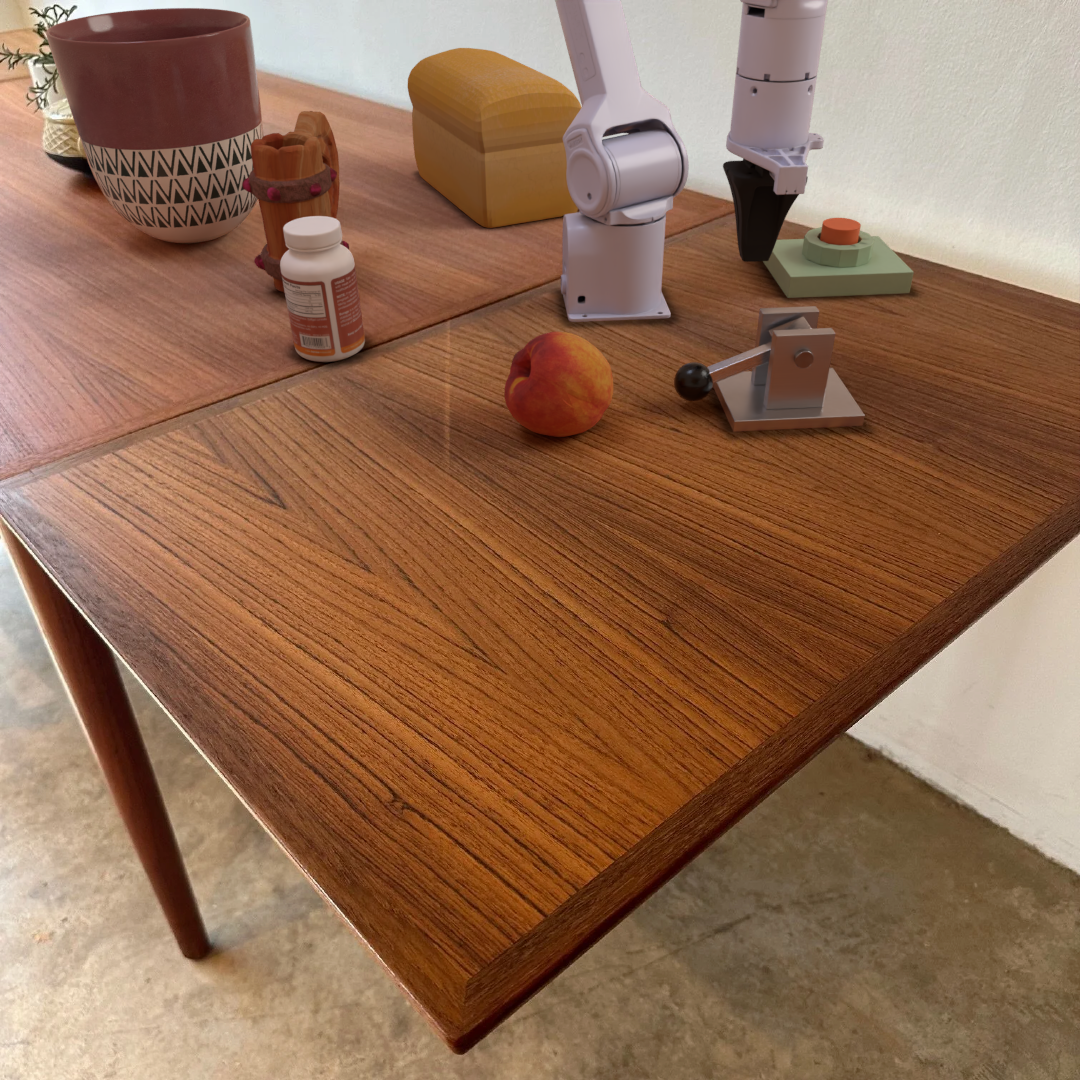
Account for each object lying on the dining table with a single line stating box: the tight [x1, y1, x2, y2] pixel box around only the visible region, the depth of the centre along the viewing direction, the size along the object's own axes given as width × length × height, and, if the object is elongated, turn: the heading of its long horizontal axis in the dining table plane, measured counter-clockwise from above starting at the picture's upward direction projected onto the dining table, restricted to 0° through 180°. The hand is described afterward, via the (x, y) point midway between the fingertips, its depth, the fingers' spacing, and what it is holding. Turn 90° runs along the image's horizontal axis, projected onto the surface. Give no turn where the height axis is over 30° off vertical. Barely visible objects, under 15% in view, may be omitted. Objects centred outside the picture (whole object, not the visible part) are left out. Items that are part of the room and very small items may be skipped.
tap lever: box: [673, 317, 812, 402], centre depth 77 cm, size 11×3×3 cm, turn 94°
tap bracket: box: [712, 305, 866, 433], centre depth 77 cm, size 10×8×7 cm
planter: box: [45, 7, 265, 244], centre depth 107 cm, size 20×20×21 cm
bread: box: [407, 47, 582, 229], centre depth 120 cm, size 24×13×15 cm, turn 24°
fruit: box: [503, 331, 615, 438], centre depth 75 cm, size 8×8×8 cm
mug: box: [242, 110, 350, 294], centre depth 98 cm, size 15×8×15 cm, turn 168°
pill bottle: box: [280, 216, 366, 363], centre depth 86 cm, size 6×6×11 cm
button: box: [820, 217, 862, 245], centre depth 98 cm, size 4×4×2 cm
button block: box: [762, 226, 915, 299], centre depth 100 cm, size 12×10×4 cm
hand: (754, 258), depth 80 cm, fingers closed
